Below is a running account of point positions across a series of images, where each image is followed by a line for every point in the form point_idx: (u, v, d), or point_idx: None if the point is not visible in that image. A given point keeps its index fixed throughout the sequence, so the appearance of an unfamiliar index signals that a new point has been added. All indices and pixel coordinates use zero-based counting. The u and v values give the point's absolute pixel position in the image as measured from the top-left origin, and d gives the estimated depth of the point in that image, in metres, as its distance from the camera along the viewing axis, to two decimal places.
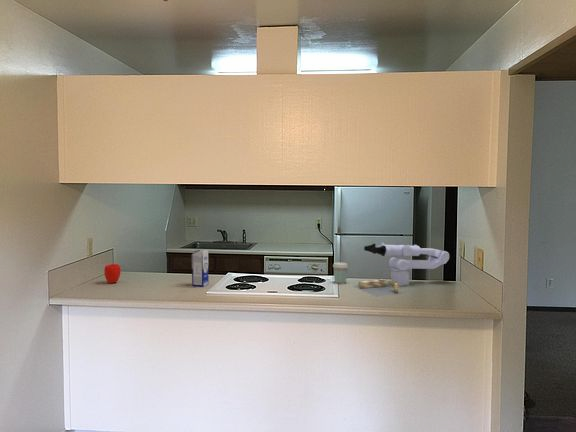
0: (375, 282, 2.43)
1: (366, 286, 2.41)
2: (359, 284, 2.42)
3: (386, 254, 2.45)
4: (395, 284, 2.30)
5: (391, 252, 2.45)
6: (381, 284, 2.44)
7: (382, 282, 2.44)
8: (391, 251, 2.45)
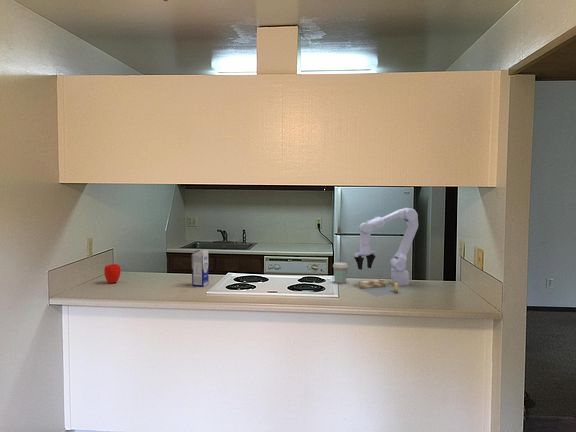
0: (375, 282, 2.43)
1: (366, 286, 2.41)
2: (359, 284, 2.42)
3: (366, 250, 2.46)
4: (395, 284, 2.30)
5: (363, 245, 2.46)
6: (381, 284, 2.44)
7: (382, 282, 2.44)
8: (362, 245, 2.46)
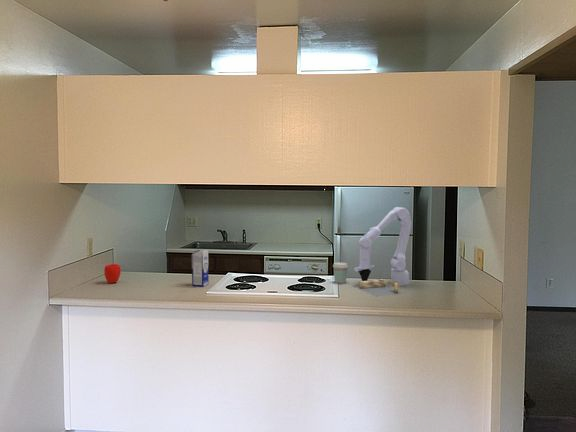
0: (375, 282, 2.43)
1: (366, 286, 2.41)
2: (359, 284, 2.42)
3: (366, 264, 2.46)
4: (395, 284, 2.30)
5: (363, 260, 2.46)
6: (381, 284, 2.44)
7: (382, 282, 2.44)
8: (362, 260, 2.47)
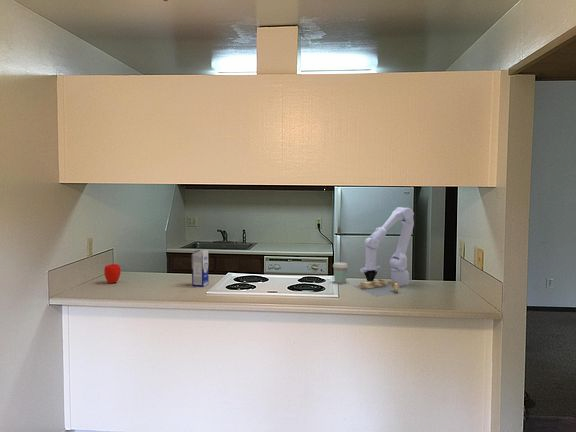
0: (376, 282, 2.43)
1: (369, 287, 2.40)
2: (361, 285, 2.40)
3: (371, 265, 2.43)
4: (395, 284, 2.30)
5: (369, 261, 2.43)
6: (382, 284, 2.44)
7: (383, 282, 2.44)
8: (368, 261, 2.43)
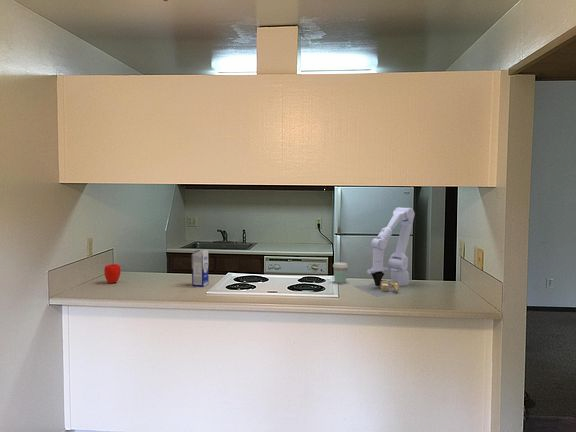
0: (385, 283, 2.41)
1: None
2: (385, 288, 2.33)
3: (379, 266, 2.38)
4: (395, 284, 2.30)
5: (376, 262, 2.39)
6: None
7: (385, 281, 2.45)
8: (375, 262, 2.39)
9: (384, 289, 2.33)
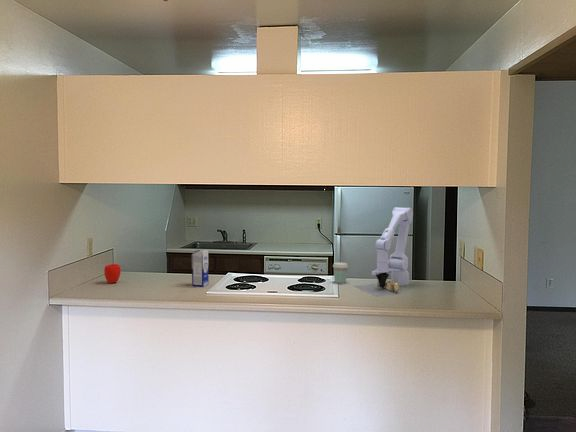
0: None
1: None
2: None
3: (383, 268, 2.36)
4: (395, 284, 2.30)
5: (380, 263, 2.36)
6: None
7: None
8: (379, 263, 2.37)
9: (393, 289, 2.33)
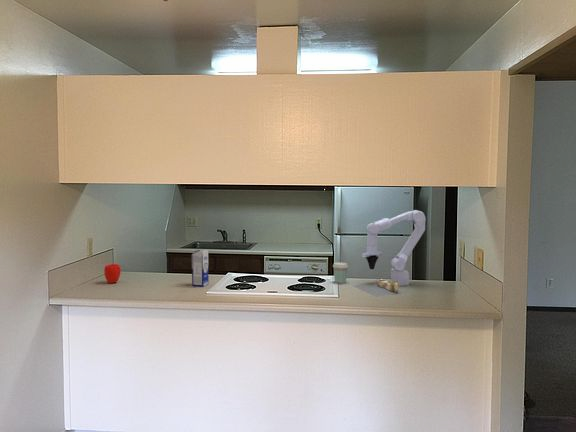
0: None
1: None
2: None
3: (373, 250, 2.48)
4: (395, 284, 2.30)
5: (370, 246, 2.48)
6: None
7: None
8: (369, 246, 2.49)
9: (393, 289, 2.33)
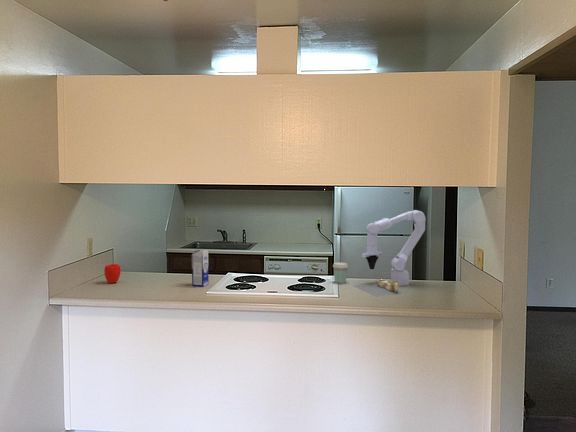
0: None
1: None
2: None
3: (373, 250, 2.48)
4: (395, 284, 2.30)
5: (370, 246, 2.48)
6: None
7: None
8: (369, 246, 2.49)
9: (393, 289, 2.33)
